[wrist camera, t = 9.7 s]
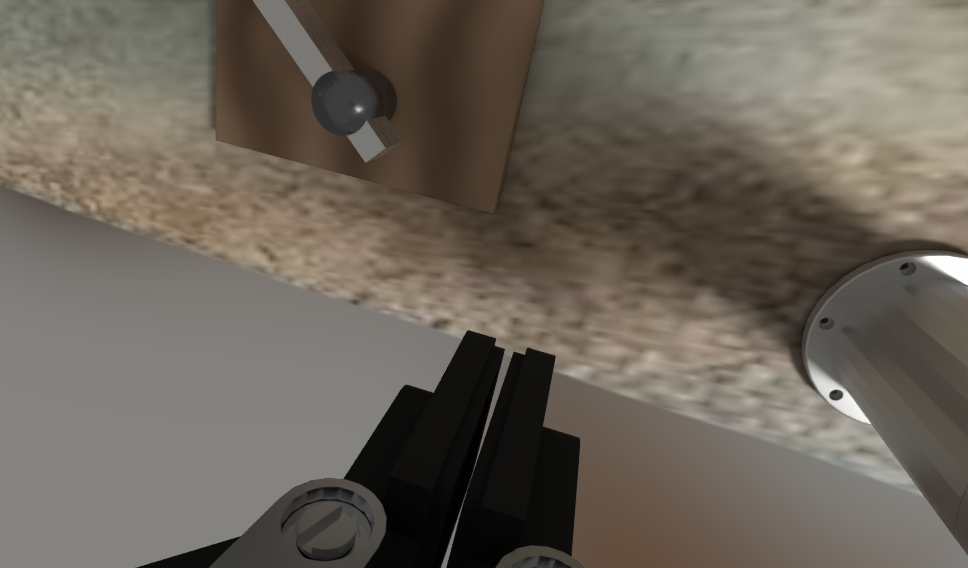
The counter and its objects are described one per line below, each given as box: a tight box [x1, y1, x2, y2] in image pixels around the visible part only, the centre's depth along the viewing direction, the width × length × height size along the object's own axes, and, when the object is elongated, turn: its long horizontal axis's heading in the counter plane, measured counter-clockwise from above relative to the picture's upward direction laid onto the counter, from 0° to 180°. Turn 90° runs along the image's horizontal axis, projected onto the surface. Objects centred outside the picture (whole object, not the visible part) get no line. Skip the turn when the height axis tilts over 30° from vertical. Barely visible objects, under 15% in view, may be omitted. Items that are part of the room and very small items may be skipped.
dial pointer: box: [253, 0, 403, 163], centre depth 33 cm, size 18×4×5 cm, turn 35°
